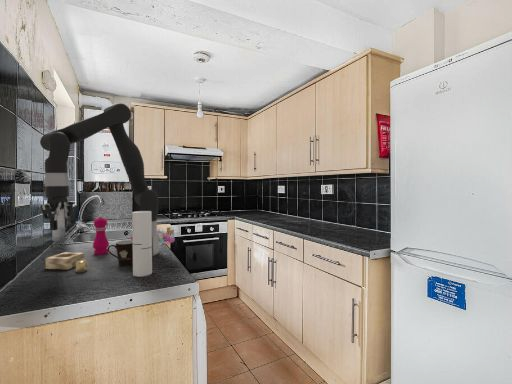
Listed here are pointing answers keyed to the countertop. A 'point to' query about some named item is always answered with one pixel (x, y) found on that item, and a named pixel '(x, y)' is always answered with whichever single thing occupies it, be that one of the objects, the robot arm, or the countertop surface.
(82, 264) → the short pin
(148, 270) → the cylindrical container
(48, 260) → the socket block
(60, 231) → the long pin
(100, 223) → the pepper mill
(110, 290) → the countertop surface
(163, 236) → the candy landscape model
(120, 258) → the coffee mug
